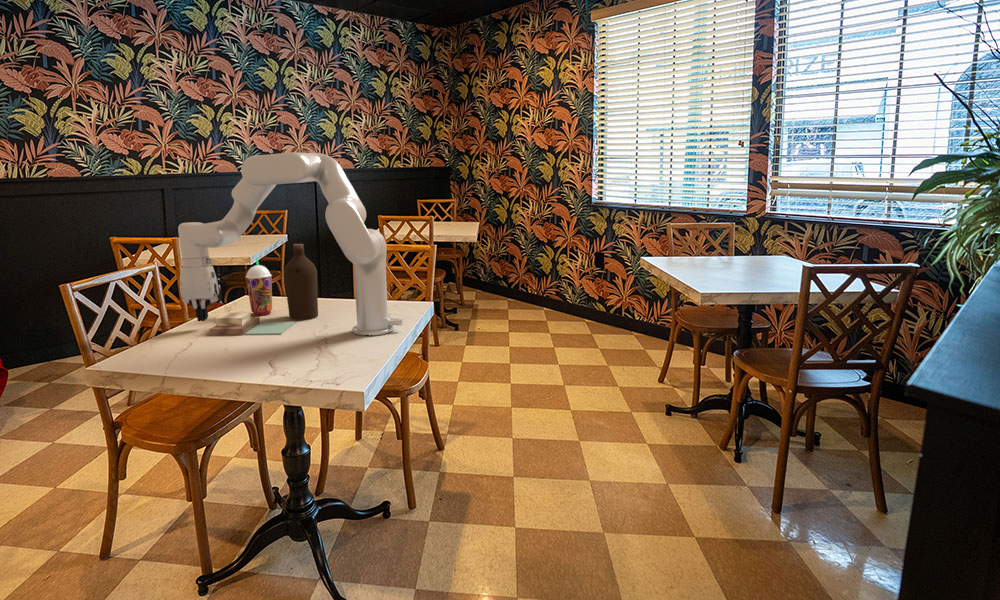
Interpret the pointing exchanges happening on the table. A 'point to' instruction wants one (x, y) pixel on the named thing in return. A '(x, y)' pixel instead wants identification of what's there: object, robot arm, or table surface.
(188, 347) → the table surface
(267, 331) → the mat
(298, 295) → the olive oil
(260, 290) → the smoothie
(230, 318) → the tile
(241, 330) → the deck
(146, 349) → the table surface
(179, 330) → the table surface
